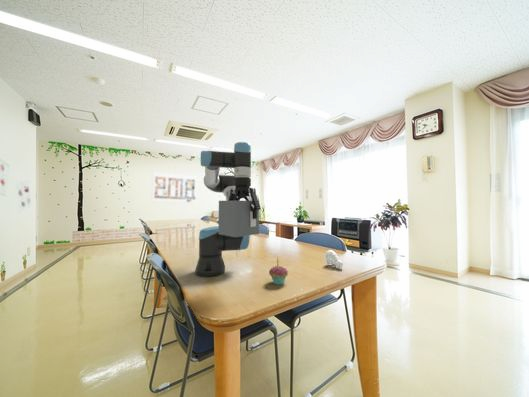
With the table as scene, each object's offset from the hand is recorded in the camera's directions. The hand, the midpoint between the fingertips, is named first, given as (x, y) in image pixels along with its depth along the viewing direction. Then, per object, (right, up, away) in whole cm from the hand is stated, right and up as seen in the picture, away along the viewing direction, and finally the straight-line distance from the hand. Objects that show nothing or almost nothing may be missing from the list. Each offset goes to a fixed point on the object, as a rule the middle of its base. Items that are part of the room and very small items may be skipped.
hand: (242, 225), depth 91 cm
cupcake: (+16, -26, +1) cm, 31 cm away
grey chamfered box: (-1, -3, -1) cm, 4 cm away
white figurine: (+50, -27, +24) cm, 61 cm away
